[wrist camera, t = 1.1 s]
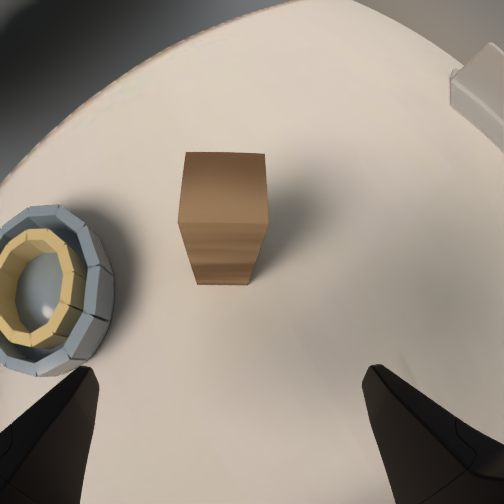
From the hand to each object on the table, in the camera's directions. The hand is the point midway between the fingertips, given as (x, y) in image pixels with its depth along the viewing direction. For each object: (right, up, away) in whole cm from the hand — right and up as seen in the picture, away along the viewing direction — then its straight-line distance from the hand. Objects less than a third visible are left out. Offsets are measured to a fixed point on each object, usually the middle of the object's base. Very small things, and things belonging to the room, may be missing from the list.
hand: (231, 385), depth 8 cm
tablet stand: (+52, +31, +32) cm, 68 cm away
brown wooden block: (-2, +3, +15) cm, 16 cm away
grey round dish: (-18, 0, +13) cm, 22 cm away
